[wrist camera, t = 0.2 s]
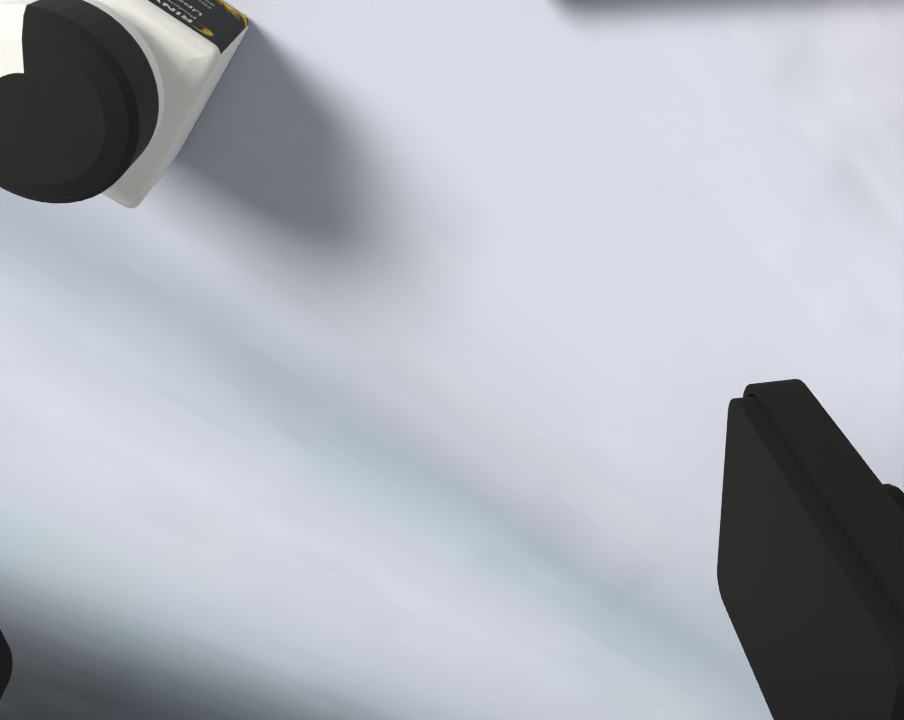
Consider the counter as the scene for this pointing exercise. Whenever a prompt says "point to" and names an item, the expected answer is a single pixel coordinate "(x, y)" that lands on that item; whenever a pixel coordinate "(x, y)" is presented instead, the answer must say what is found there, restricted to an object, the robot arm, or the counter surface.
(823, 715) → the robot arm
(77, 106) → the medicine bottle
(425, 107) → the counter surface
